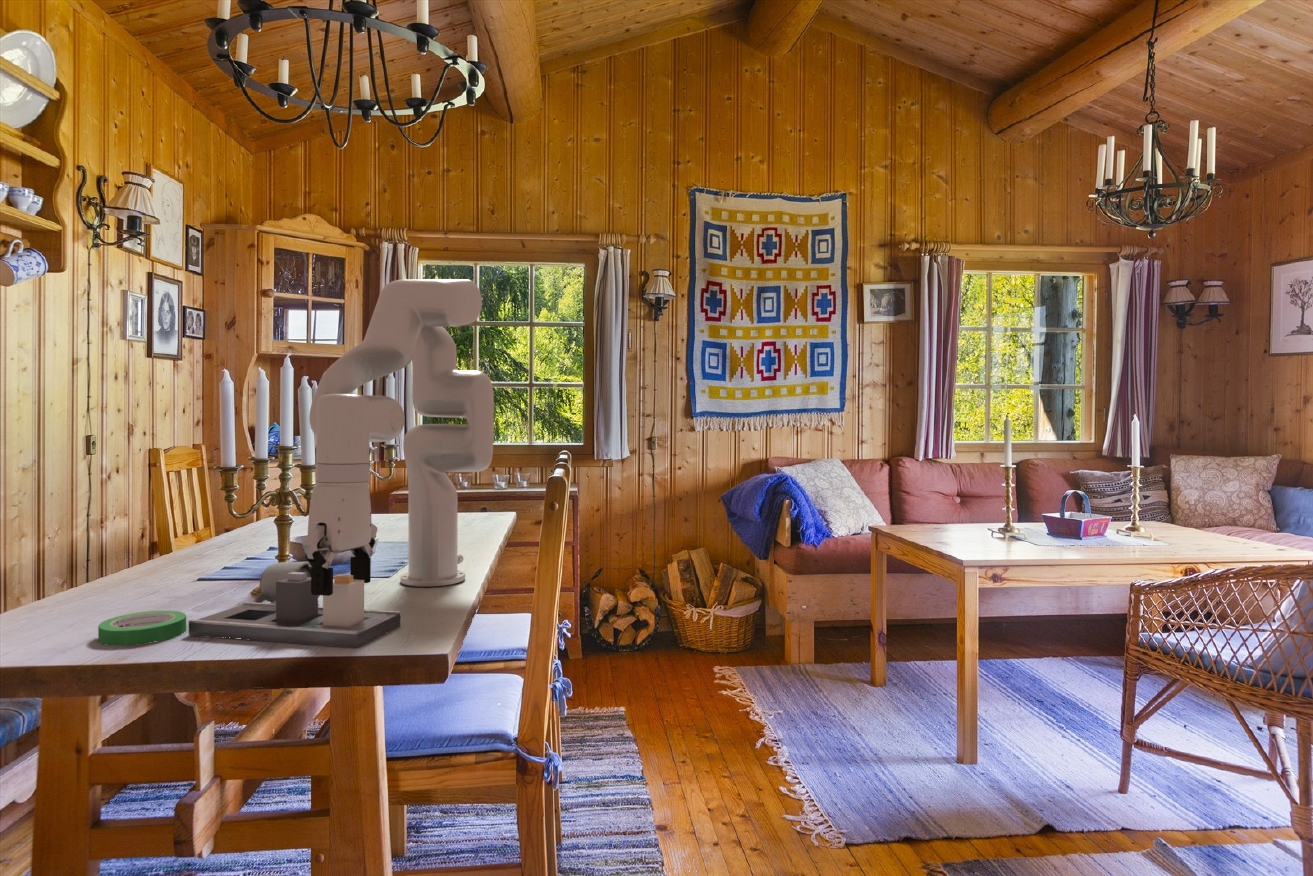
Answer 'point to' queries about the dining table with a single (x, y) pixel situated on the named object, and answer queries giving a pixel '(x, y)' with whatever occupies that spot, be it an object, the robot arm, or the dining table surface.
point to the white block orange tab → (344, 602)
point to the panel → (292, 627)
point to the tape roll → (142, 627)
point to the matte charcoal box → (295, 599)
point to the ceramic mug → (278, 578)
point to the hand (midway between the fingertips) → (341, 588)
